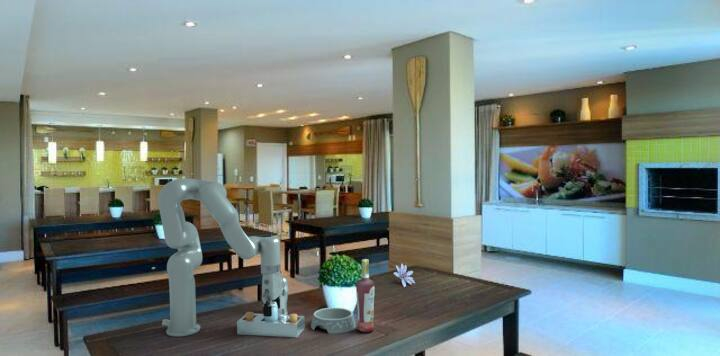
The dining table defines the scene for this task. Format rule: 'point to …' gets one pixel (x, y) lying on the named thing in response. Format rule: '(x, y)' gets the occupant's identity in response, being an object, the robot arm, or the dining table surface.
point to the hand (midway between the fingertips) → (272, 312)
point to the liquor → (365, 300)
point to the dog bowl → (334, 320)
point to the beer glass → (283, 297)
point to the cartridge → (273, 313)
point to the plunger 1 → (249, 316)
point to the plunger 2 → (293, 318)
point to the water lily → (404, 275)
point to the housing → (270, 326)
